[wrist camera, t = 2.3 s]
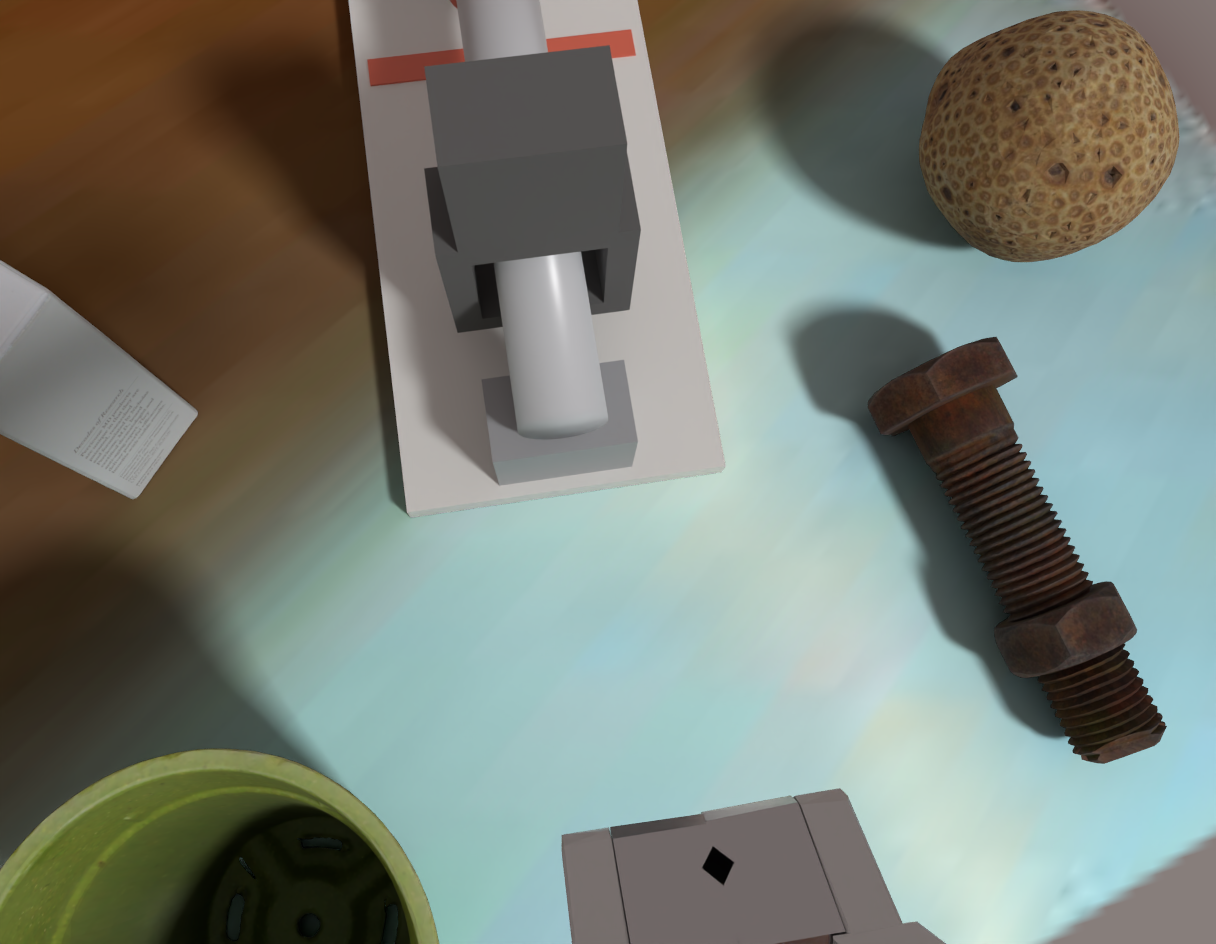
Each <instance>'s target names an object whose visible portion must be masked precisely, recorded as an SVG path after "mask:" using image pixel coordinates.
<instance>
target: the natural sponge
mask: <svg viewBox="0 0 1216 944" xmlns="http://www.w3.org/2000/svg"><path fill="white" fill-rule="evenodd" d="M1178 145H1179V128H1178V119H1177V113H1176V106H1175V102H1174V98H1173V94H1172V90H1171V87H1170V84H1169V82H1168V80H1167V77H1166V75H1165V73H1164V71H1163V69H1162V67H1161V65H1160V62H1159V61H1158V59H1157V57H1156V55H1155V53H1154V51H1153V50H1152V48H1151V47H1150V46H1149V44H1148V43H1147V42H1146V41H1145V40H1144V39H1143V38H1142V36H1141V35H1140V34H1139V33H1138V32H1137V31H1136V30H1135V29H1133V28H1132V27H1131V26H1129V25H1127V24H1126V23H1124V22H1123V21H1121V20H1118V19H1116V18H1114V17H1111V16H1108V15H1105V14H1100V13H1096V12H1089V11H1061V12H1054V13H1050V14H1046V15H1043V16H1039V17H1035V18H1032V19H1028V20H1026V21H1023V22H1021V23H1018V24H1016V25H1013V26H1010V27H1008V28H1005V29H1003V30H1000V31H998V32H995V33H993V34H990V35H988V36H986V37H984V38H982V39H979V40H977V41H976V42H974V43H972V44H970V45H968V46H967V47H965V48H963V49H962V50H960V51H959V52H958V53H956V54H955V55H954V56H953V57H951V58H950V59H949V61H948V62H947V63H946V64H945V65H944V67H943V68H942V70H941V71H940V73H939V74H938V76H937V78H936V81H935V83H934V85H933V87H932V90H931V92H930V95H929V98H928V103H927V108H926V115H925V119H924V123H923V126H922V132H921V136H920V141H919V162H920V167H921V170H922V174H923V177H924V181H925V184H926V187H927V190H928V192H929V194H930V196H931V198H932V199H933V201H934V203H935V205H936V206H937V207H938V208H939V210H940V211H941V212H942V214H943V215H944V217H945V218H946V219H947V220H948V222H949V223H950V224H951V226H952V227H953V228H954V229H955V230H956V231H957V232H958V233H959V234H960V235H961V236H962V237H963V238H964V239H965V240H966V241H967V242H968V243H969V244H970V245H971V246H973V247H975V248H976V249H978V250H980V251H982V252H984V253H986V254H987V255H989V256H992V257H995V258H999V259H1002V260H1007V261H1011V262H1034V261H1043V260H1049V259H1054V258H1058V257H1062V256H1065V255H1068V254H1072V253H1074V252H1077V251H1079V250H1082V249H1084V248H1086V247H1089V246H1091V245H1094V244H1097V243H1099V242H1100V241H1102V240H1104V239H1106V238H1107V237H1109V236H1111V235H1113V234H1115V233H1116V232H1118V231H1119V230H1121V229H1122V228H1123V227H1125V226H1126V225H1128V224H1129V223H1130V222H1131V221H1132V220H1133V219H1134V218H1136V217H1137V216H1138V215H1139V214H1140V213H1141V212H1142V211H1143V210H1144V209H1145V208H1146V207H1147V206H1148V204H1149V203H1150V202H1151V201H1152V200H1153V199H1154V198H1155V197H1156V195H1157V194H1158V192H1159V191H1160V189H1161V188H1162V186H1163V184H1164V183H1165V181H1166V180H1167V178H1168V177H1169V175H1170V173H1171V170H1172V167H1173V165H1174V162H1175V158H1176V154H1177V150H1178Z"/></svg>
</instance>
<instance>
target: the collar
mask: <svg viewBox="0 0 1216 944" xmlns="http://www.w3.org/2000/svg"><path fill="white" fill-rule="evenodd" d="M424 69H425V76H426V84H427V91H428V99H429V106H430V114H431V122H432V129H433V137H434V144H435V152H436V160H437V167H431V168H424V172H425V180H426V188H427V195H428V203H429V211H430V219H431V226H432V234H433V242H434V250H435V257H436V260H437V264H438V267H439V270H440V274H441V277H442V281H443V284H444V288H445V291H446V295H447V298H448V301H449V305H450V308H451V312H452V315H453V319H454V322H455V326H456V329H457V333H462V332H469V331H476V330H484V329H491V328H499V327H503V325H502V318H501V311H500V304H499V297H498V290H497V283H496V276H495V269H494V263H496V262H504V261H511V260H519V259H527V258H534V257H542V256H550V255H558V254H565V253H573V252H581V255H582V261H583V267H584V273H585V279H586V285H587V291H588V297H589V304H590V310H591V315H596V314H603V313H611V312H618V311H626V310H630V303H631V296H632V289H633V282H634V275H635V268H636V261H637V254H638V247H639V240H640V233H641V227H640V221H639V216H638V210H637V204H636V199H635V193H634V188H633V182H632V177H631V171H630V166H629V160H628V155H627V139H626V133H625V128H624V122H623V117H622V111H621V106H620V100H619V95H618V89H617V83H616V78H615V72H614V67H613V61H612V56H611V50H610V45H607V46H598V47H589V48H581V49H572V50H563V51H555V52H546V53H537V54H528V55H520V56H511V57H502V58H494V59H485V60H476V61H468V62H459V63H450V64H442V65H433V66H424Z"/></svg>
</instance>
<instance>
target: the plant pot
mask: <svg viewBox="0 0 1216 944" xmlns="http://www.w3.org/2000/svg"><path fill="white" fill-rule="evenodd" d="M315 837H317V838H320V837H324V838H332V839H338V840H339V841H341V843H342V848H341V849H340V850H336V849H331V848H321V847H313V848H303V847H302V844H301V840H297V838H302V839H313V838H315ZM239 857H243V859H244V861H245V862H246V864H247V866H248V867H249V868H250V869H251V871H252V873H253V874H254V875H255V879H253V877H252V876H251V875H250V874H249V873H248V872H247V871H246V869H245V868H243V866H242V865H241V864H240V861H239ZM256 879H257V881H256ZM235 894H241V895H242V896H243V898H244V901H245V903H244V908H243V912H242V916H241V924H240V934H239V939H238V940H237V941H232V940H230V939H229V938H228V937H227V934H226V922H227V913H228V910H229V907H230V904H231V900H232V898H233V897H234V896H235ZM385 900H386V902H385ZM385 904H386V905H385ZM390 904H395V905H396V906H397V908H398V928H397V937H396V941H395V944H439V940H438V936H437V931H436V927H435V923H434V919H433V915H432V912H431V909H430V906H429V902H428V899H427V897H426V894H425V892H424V890H423V887H422V885H421V882H420V880H419V878H418V876H417V874H416V872H415V870H414V868H413V866H412V864H411V863H410V861H409V859H408V858H407V856H406V854H405V852H404V851H403V849H402V848H401V846H400V844H399V843H398V841H397V840H396V839H395V838H394V836H393V835H392V834H391V833H390V831H389V830H388V829H387V827H386V826H385V825H384V824H383V823H382V821H381V820H380V819H379V818H378V817H377V816H376V815H375V814H374V813H373V812H372V811H371V810H370V809H369V808H368V807H367V806H366V805H365V804H363V803H362V802H361V801H360V800H359V799H358V798H356V797H355V796H354V795H353V794H352V793H351V792H349V791H348V790H347V789H345V788H344V787H342V786H341V785H339V784H338V783H336V782H334V781H333V780H331V779H330V778H328V777H326V776H324V775H322V774H321V773H319V772H317V771H315V770H313V769H311V768H308V767H306V766H304V765H302V764H300V763H297V762H294V761H291V760H288V759H285V758H282V757H279V756H274V755H270V754H265V753H261V752H256V751H248V750H238V749H197V750H190V751H183V752H177V753H173V754H168V755H164V756H160V757H156V758H152V759H149V760H145V761H142V762H139V763H136V764H134V765H131V766H128V767H126V768H123V769H121V770H119V771H116V772H114V773H112V774H110V775H108V776H106V777H104V778H102V779H100V780H98V781H97V782H95V783H93V784H92V785H90V786H89V787H87V788H85V789H84V790H82V791H81V792H79V793H78V794H76V795H75V796H73V797H72V798H70V799H69V800H68V801H66V802H65V803H64V804H62V805H61V806H60V807H58V808H57V809H56V810H55V811H54V812H52V813H51V814H50V815H49V816H48V817H47V818H46V819H44V820H43V821H42V822H41V823H40V824H39V825H38V826H37V827H36V828H35V829H34V830H33V831H32V832H31V833H30V834H29V835H28V836H27V837H26V838H25V839H24V841H23V842H22V843H21V844H20V845H19V846H18V848H17V849H16V850H15V851H14V852H13V853H12V855H11V856H10V857H9V859H8V860H7V861H6V862H5V864H4V865H3V867H2V868H1V869H0V944H381V940H382V937H383V930H384V925H385V919H386V912H385V906H386V907H388V905H390ZM308 913H310V914H315V915H316V917H317V918H318V920H319V921H320V928H319V931H318V932H317V933H316V934H315V935H314V936H312V937H304V936H303V935H302V934H301V933H300V931H299V920H300V919H301V918H302V917H303V916H304V915H306V914H308Z"/></svg>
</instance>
